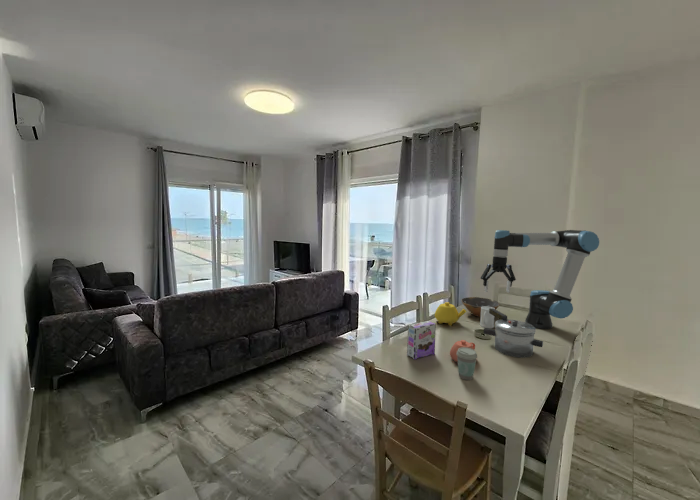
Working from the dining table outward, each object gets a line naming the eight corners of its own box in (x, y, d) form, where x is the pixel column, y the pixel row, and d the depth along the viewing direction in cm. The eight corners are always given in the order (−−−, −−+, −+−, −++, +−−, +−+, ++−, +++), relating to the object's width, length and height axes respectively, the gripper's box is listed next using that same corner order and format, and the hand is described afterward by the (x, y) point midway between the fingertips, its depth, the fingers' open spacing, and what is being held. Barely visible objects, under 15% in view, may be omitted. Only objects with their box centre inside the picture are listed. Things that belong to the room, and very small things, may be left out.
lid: (544, 333, 151) (544, 327, 151) (508, 334, 150) (508, 327, 150) (506, 313, 184) (506, 307, 183) (476, 313, 182) (476, 308, 182)
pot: (544, 351, 160) (546, 329, 159) (538, 363, 146) (540, 340, 145) (488, 337, 178) (489, 317, 177) (478, 347, 164) (479, 326, 163)
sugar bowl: (444, 357, 153) (445, 337, 151) (466, 352, 158) (467, 333, 157) (461, 368, 141) (462, 347, 140) (484, 363, 146) (485, 343, 145)
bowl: (454, 314, 219) (455, 301, 218) (470, 307, 236) (471, 295, 235) (489, 323, 201) (490, 309, 200) (504, 315, 218) (505, 301, 216)
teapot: (467, 322, 203) (468, 302, 201) (463, 329, 190) (464, 308, 188) (438, 317, 213) (438, 298, 212) (431, 323, 200) (432, 303, 199)
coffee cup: (452, 372, 138) (453, 347, 137) (470, 371, 139) (471, 346, 137) (460, 382, 129) (461, 355, 128) (479, 381, 130) (481, 355, 129)
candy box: (414, 360, 149) (415, 328, 148) (406, 355, 155) (407, 324, 153) (435, 354, 156) (436, 323, 154) (427, 349, 161) (428, 320, 159)
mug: (488, 330, 188) (489, 312, 187) (475, 327, 194) (476, 308, 193) (496, 326, 196) (497, 308, 195) (483, 322, 202) (484, 305, 201)
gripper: (516, 256, 182) (513, 290, 184) (476, 254, 181) (473, 289, 183) (524, 257, 175) (520, 293, 177) (482, 256, 173) (479, 292, 176)
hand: (496, 291), depth 180 cm, fingers open, 13 cm apart
